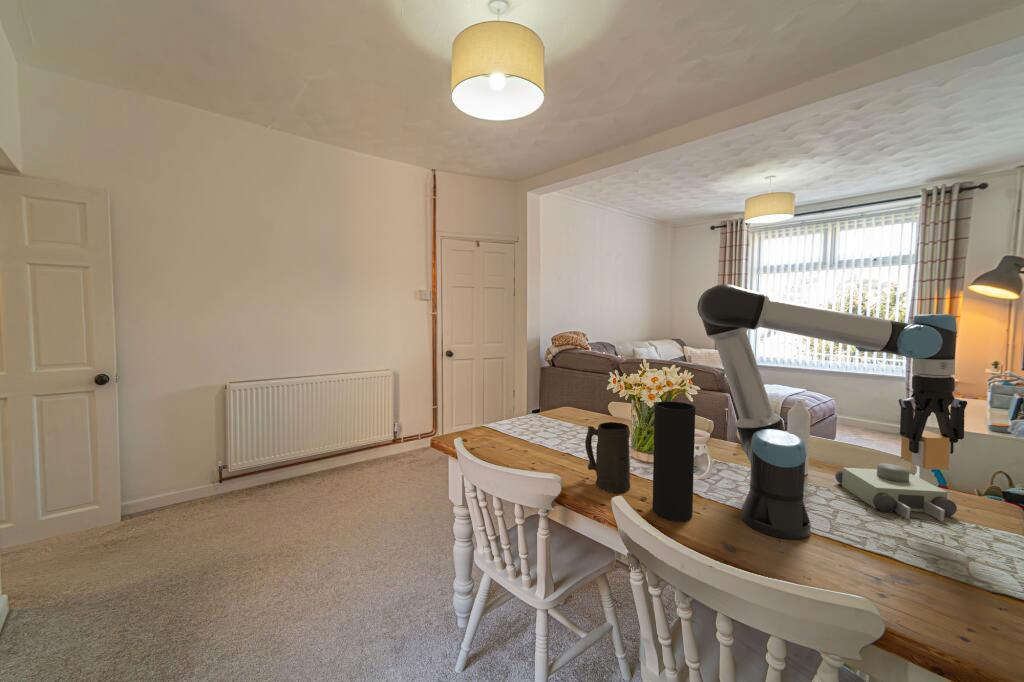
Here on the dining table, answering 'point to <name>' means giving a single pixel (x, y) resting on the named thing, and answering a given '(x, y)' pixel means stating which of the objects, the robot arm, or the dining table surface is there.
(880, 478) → the mower deck
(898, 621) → the dining table surface
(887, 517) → the dining table surface
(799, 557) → the dining table surface
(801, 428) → the water bottle
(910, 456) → the orange block
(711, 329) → the robot arm
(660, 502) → the vase
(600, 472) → the beer stein
